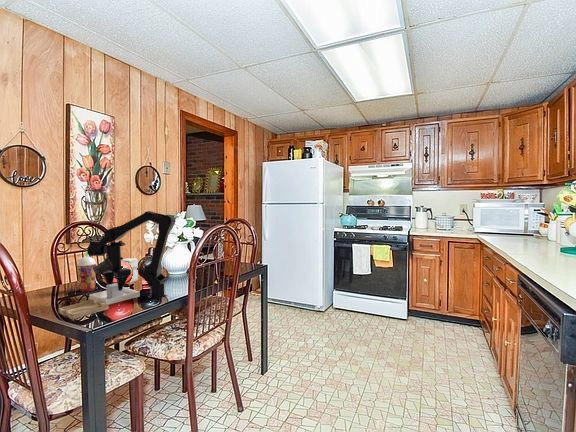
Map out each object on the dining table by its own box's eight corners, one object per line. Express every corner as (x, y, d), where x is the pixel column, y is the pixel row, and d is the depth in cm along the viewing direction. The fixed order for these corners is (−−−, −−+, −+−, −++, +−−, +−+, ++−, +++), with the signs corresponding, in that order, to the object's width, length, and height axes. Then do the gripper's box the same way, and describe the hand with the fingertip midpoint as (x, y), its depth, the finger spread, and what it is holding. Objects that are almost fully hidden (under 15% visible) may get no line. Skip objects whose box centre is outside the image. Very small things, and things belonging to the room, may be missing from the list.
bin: (139, 297, 149) (139, 291, 149) (106, 306, 136) (105, 300, 136) (122, 291, 157) (122, 286, 157) (89, 299, 145) (89, 294, 145)
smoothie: (92, 287, 166) (91, 249, 165) (100, 289, 161) (99, 250, 160) (74, 290, 159) (73, 251, 158) (82, 293, 154) (80, 253, 153)
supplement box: (129, 283, 173) (129, 260, 172) (117, 282, 175) (117, 260, 174) (138, 280, 180) (138, 258, 180) (127, 279, 182) (126, 257, 181)
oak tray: (108, 309, 131) (108, 305, 131) (73, 319, 121) (72, 314, 120) (93, 304, 139) (93, 299, 139) (58, 312, 128) (58, 308, 128)
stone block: (123, 297, 147) (122, 284, 147) (112, 299, 143) (111, 286, 143) (117, 295, 150) (117, 282, 150) (106, 298, 146) (106, 285, 146)
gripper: (85, 256, 144) (86, 290, 145) (105, 260, 134) (106, 296, 135) (110, 252, 154) (111, 284, 154) (131, 256, 143) (132, 290, 144)
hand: (114, 289), depth 147 cm, fingers open, 9 cm apart
